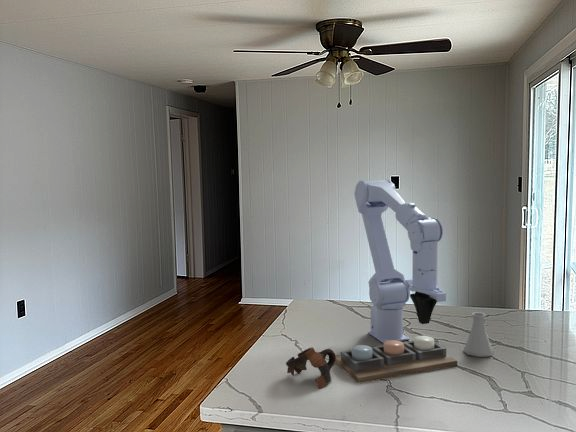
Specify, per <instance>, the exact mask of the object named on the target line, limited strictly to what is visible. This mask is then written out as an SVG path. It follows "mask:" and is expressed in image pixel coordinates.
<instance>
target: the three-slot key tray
mask: <svg viewBox="0 0 576 432" xmlns="http://www.w3.org/2000/svg"><path fill="white" fill-rule="evenodd" d="M402 342H403V343H404V354H399V355H392V356H389V355H387V354H386V353H384V344H383V345H377V346H372V347H371V348H372V359H368V360H362V361H355V360H354V359H353V358H352V349H351V350H345V351H340V354H335V356H336V360H335V363H334V364H336V365H338V367H339V368H340V369H342V370H343V371H344V372H345V373H346V374H347V373H348V375H349V376H350V377H351V378H352V379H353V380H354V381H355V382H357V383H358V384H361V383H368V382H372V381H377V380H384V379H389V378H394V377H400V376H406V375H411V374H419V373H422V372H428V371H433V370H434V371H435V370H439V369H445V368H450V367H451V368H452V367H456V366H458V360H457V359H455V358H453V357H451V356H450V355H449V354H447V347H445V346H443V345H441V344H439V343H438V342H436V341H434V349H429V350H423V351H420V350H418V349H417V348H415V347H414V340H411V341H409V340H408V341H402Z"/></svg>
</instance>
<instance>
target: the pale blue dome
mask: <svg viewBox="0 0 576 432" xmlns="http://www.w3.org/2000/svg"><path fill="white" fill-rule="evenodd" d="M351 350H352V358H353V359H354V360H355V361H362V360H368V359H372V347H371V346H369V345H366V344H357V345H354V346H352V347H351Z"/></svg>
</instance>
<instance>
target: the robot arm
mask: <svg viewBox="0 0 576 432" xmlns="http://www.w3.org/2000/svg"><path fill="white" fill-rule="evenodd" d="M354 198H355V199H354V200H355V203H356V207H357V211H358V213H359V214H361V216H362V220H363V225H364V230H365V235H366V238H367V242H368V246H369V249H370V256H371V258H372V263H373V267H374V272H375V273H374V274H372V276H371V278H370V279H369V281H368V288H369V290H368V292H369V293H368V294H369V299H370V301H371V303H372V307H371V308H370V330H368V331H367V333H368V335H371V337H373V338H375V339H377V340H378V341H379V342H381V343H382V344H384V342H385V341H389V340H396V341H401V342H404V341H407V340H408V341H409V340H410V337H409V336H408V335H405V334H404V307H406V303H408V302H409V299H411V301H412V302H413V305H414V307H415V311H416V315H417V321H418V323H419V324H421V325H427V324H429V323H430V322H431V317H432V314H433V311H434V308H435V306H436V305H437V302H438V303H441V302H442V303H443V302H446V301H447V293H446V292H444V291H443V290H442V289H441V288H439V287H438V285H437V283H438V282H437V280H438V279H437V277H438V242H440V241H441V239H442V238H443V233H444V229H443V225H442V223H441V221H439V219H438V218H436V217H428V216H427V215H426V214H425V213H424V212H422V211H421V210H420V209H419V207H417V206H416V204H415V202H405V200H404V199H403V198H402V196H401V195H400V194H399V193H398V192H397V191H396V186H395V183H393V182H392V180H390V179H384V180H383V179H382V180H380V179H379V180H359V181H357V183H356V185H355V188H354ZM388 208H390V209H391V210H392V211H393V212H395V219H396V220H397V221H398V223H399V224H400V225H402V227H404V229H405V230H406V231H407V235H408V236H407V237H408V239H409V241H410V244H409V245H410V250H411V251H412V278H411V279H405V275H404V273H402V272H400V271H398V270H397V269H395V266H394V263H393V258H392V254H391V252H390V246H389V243H388V239H387V235H386V231H385V226H384V222H383V220H382V214H383V213H384V212H386V211H387V210H388ZM411 292H414V293H411Z"/></svg>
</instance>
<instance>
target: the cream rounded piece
mask: <svg viewBox="0 0 576 432" xmlns="http://www.w3.org/2000/svg"><path fill="white" fill-rule="evenodd" d="M413 341H414V347H415V348H417V349H418V350H420V351H423V350H429V349H434V342H435V338H434V337H432V336H428V335H417V336H415V337H413Z"/></svg>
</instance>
